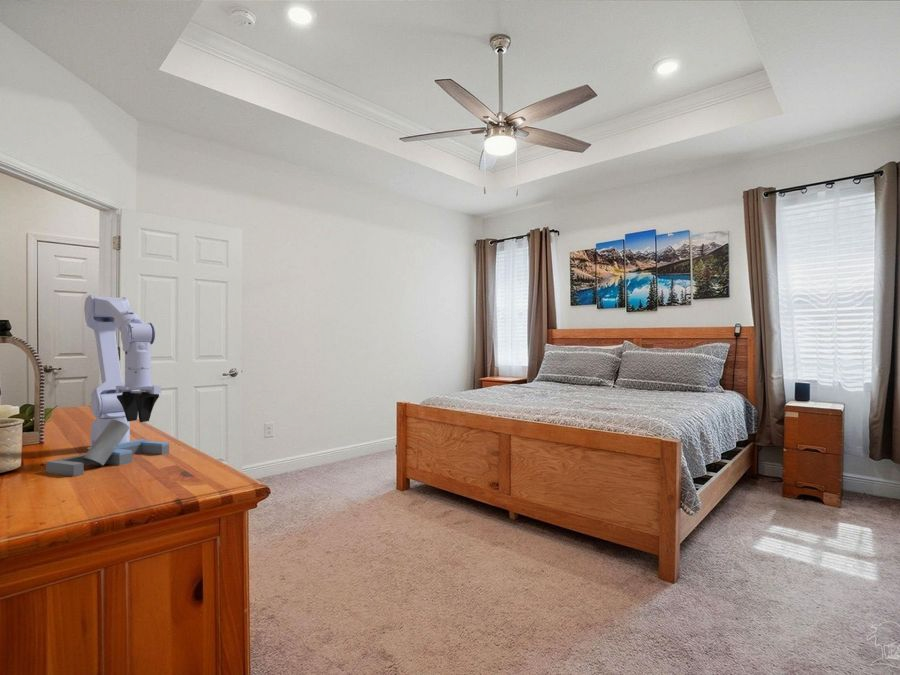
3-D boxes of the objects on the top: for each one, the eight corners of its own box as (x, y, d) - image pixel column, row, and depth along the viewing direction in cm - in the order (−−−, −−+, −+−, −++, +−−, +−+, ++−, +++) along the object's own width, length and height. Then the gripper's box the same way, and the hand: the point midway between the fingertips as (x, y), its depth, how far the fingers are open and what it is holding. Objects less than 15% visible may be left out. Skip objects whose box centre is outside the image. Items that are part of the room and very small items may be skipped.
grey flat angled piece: (46, 472, 108) (46, 461, 108) (143, 451, 130) (143, 442, 130) (73, 476, 104) (73, 464, 105) (169, 454, 126) (169, 444, 126)
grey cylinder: (106, 468, 113) (133, 429, 119) (95, 460, 109) (122, 421, 116) (90, 464, 114) (117, 426, 120) (78, 456, 110) (107, 418, 116)
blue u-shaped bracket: (92, 452, 118) (92, 448, 118) (143, 442, 130) (143, 438, 130) (119, 455, 114) (119, 451, 114) (169, 444, 126) (169, 440, 126)
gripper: (103, 369, 121) (103, 422, 121) (142, 369, 116) (142, 424, 115) (130, 368, 128) (130, 418, 127) (168, 368, 122) (168, 420, 122)
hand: (138, 421), depth 122 cm, fingers open, 4 cm apart
